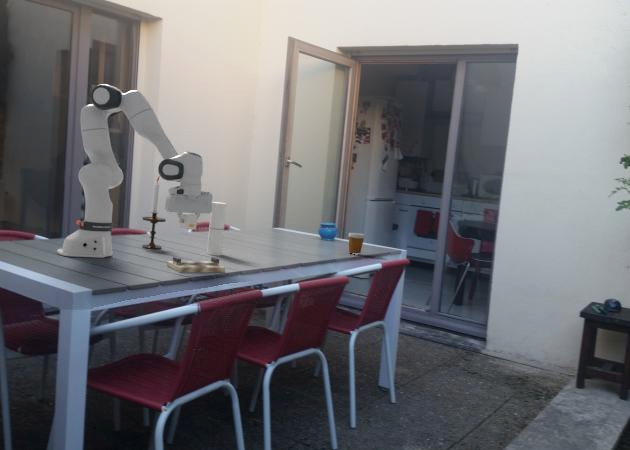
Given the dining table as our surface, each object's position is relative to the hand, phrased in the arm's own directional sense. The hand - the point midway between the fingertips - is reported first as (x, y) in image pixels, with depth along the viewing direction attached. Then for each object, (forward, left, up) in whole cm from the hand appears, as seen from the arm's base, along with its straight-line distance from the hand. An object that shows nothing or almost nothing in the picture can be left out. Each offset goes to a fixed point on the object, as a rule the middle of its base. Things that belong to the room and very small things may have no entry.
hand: (187, 223), depth 278 cm
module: (0, 0, -2) cm, 2 cm away
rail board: (+1, -10, -18) cm, 21 cm away
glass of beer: (+117, +34, -18) cm, 123 cm away
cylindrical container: (+27, +28, -18) cm, 43 cm away
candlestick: (+1, +43, -18) cm, 46 cm away
